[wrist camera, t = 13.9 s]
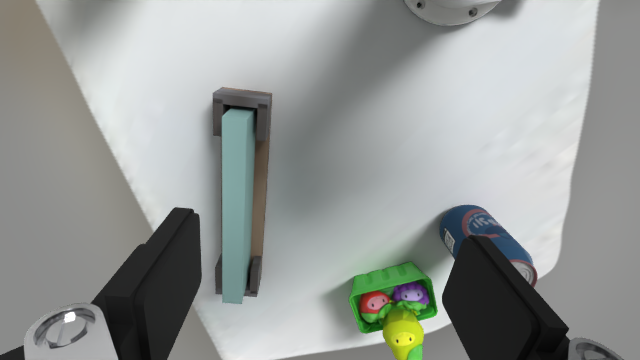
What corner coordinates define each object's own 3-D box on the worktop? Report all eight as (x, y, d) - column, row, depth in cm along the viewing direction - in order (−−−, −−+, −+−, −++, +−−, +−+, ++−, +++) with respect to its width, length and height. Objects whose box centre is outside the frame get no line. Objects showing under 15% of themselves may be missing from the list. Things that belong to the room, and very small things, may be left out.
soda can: (490, 199, 43) (551, 255, 32) (480, 242, 46) (534, 306, 35) (439, 201, 43) (483, 257, 32) (433, 243, 46) (471, 308, 35)
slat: (235, 104, 36) (221, 116, 31) (256, 106, 36) (247, 119, 31) (233, 270, 46) (222, 302, 40) (249, 272, 46) (241, 304, 40)
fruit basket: (418, 252, 46) (449, 313, 36) (428, 295, 50) (458, 363, 40) (343, 271, 47) (352, 336, 37) (358, 312, 51) (370, 382, 41)
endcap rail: (272, 93, 36) (267, 99, 33) (261, 276, 47) (256, 296, 44) (222, 87, 36) (212, 93, 32) (223, 273, 47) (215, 293, 43)
